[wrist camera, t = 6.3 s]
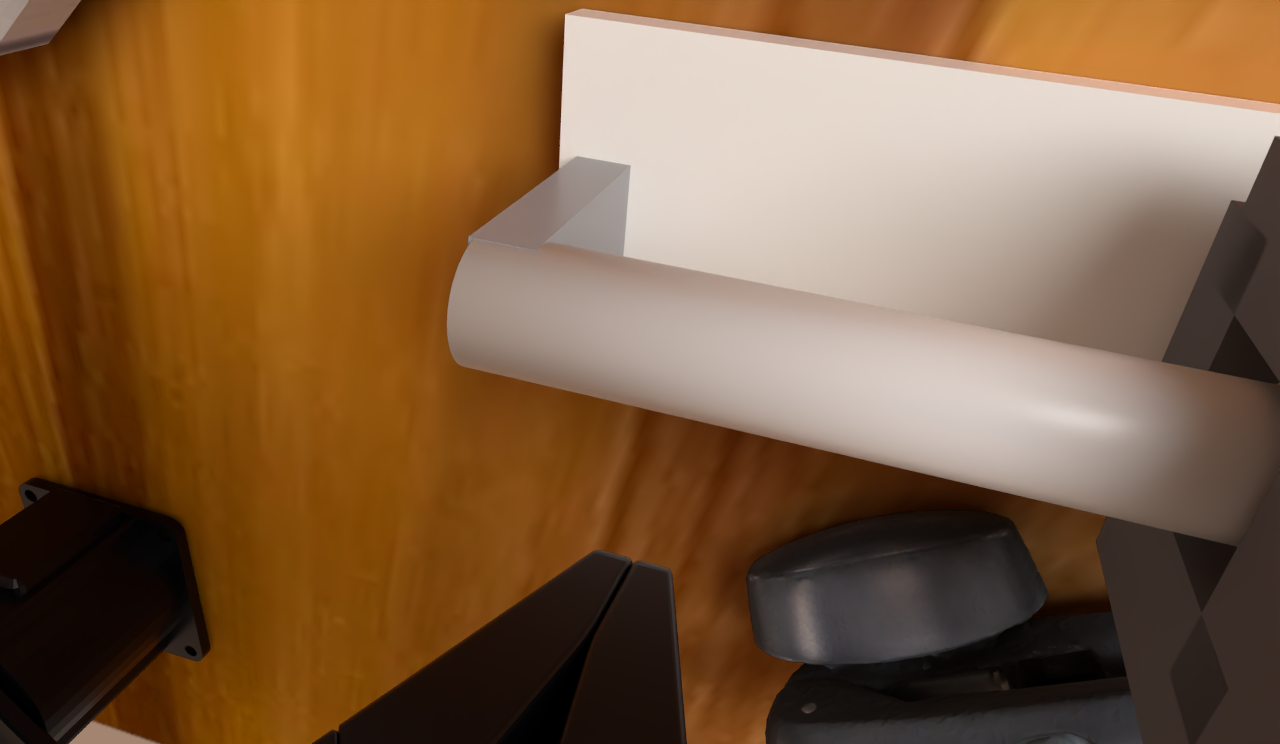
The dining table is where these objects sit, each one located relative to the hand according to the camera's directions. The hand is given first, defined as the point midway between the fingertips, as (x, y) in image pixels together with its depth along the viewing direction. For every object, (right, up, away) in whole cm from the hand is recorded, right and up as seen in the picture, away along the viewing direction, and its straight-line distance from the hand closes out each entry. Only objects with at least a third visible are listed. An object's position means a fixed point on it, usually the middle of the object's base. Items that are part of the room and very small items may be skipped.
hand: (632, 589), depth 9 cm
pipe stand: (+8, +4, +9) cm, 13 cm away
